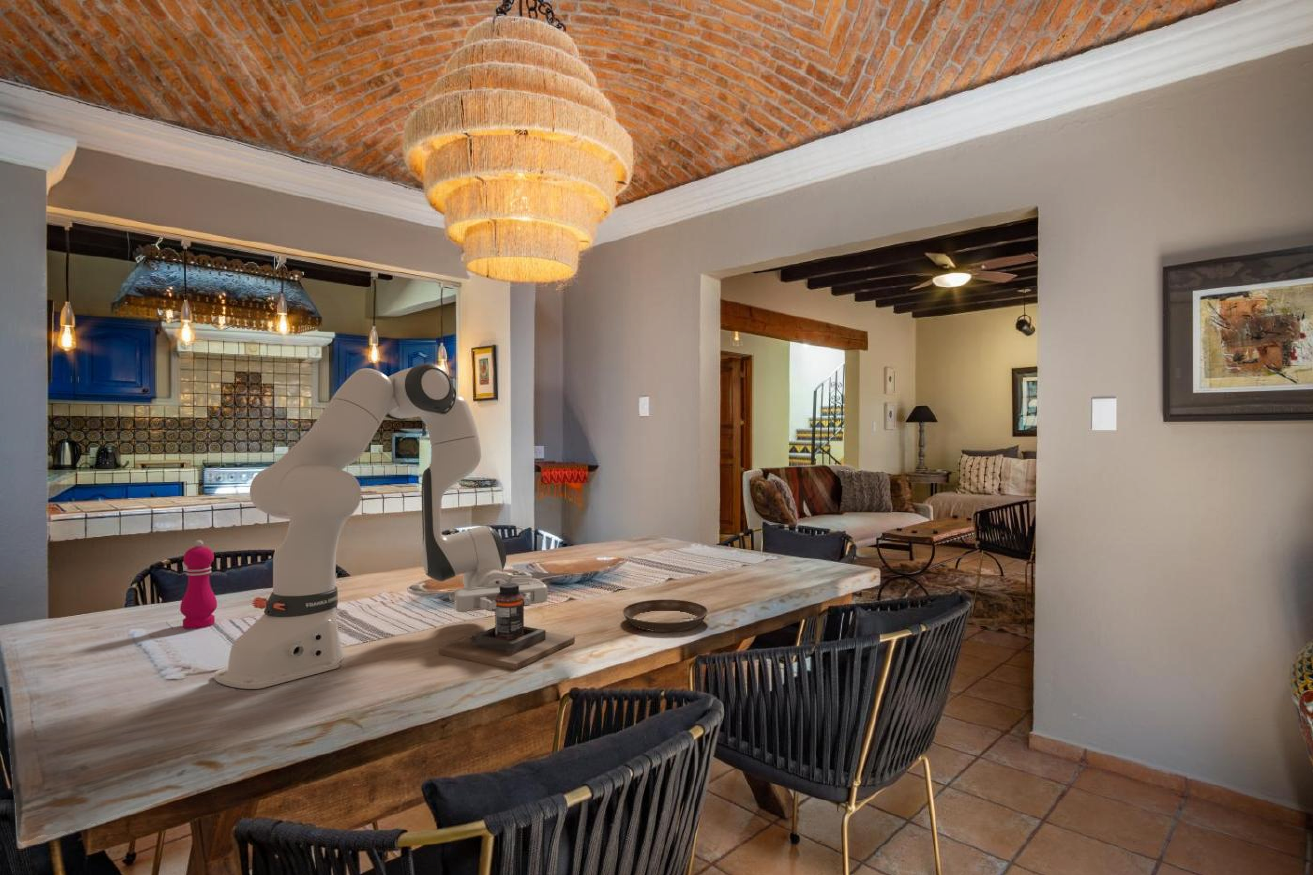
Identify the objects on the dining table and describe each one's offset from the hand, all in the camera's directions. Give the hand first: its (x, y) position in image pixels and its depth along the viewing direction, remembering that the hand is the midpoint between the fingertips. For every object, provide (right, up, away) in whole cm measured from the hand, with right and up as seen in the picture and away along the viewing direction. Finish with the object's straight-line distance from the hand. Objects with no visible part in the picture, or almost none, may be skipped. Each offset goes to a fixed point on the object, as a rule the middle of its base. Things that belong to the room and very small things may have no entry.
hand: (510, 604), depth 147 cm
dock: (-1, -9, +1) cm, 9 cm away
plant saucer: (+33, -10, +22) cm, 41 cm away
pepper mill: (-77, -9, +17) cm, 79 cm away
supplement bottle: (0, -7, +1) cm, 8 cm away
